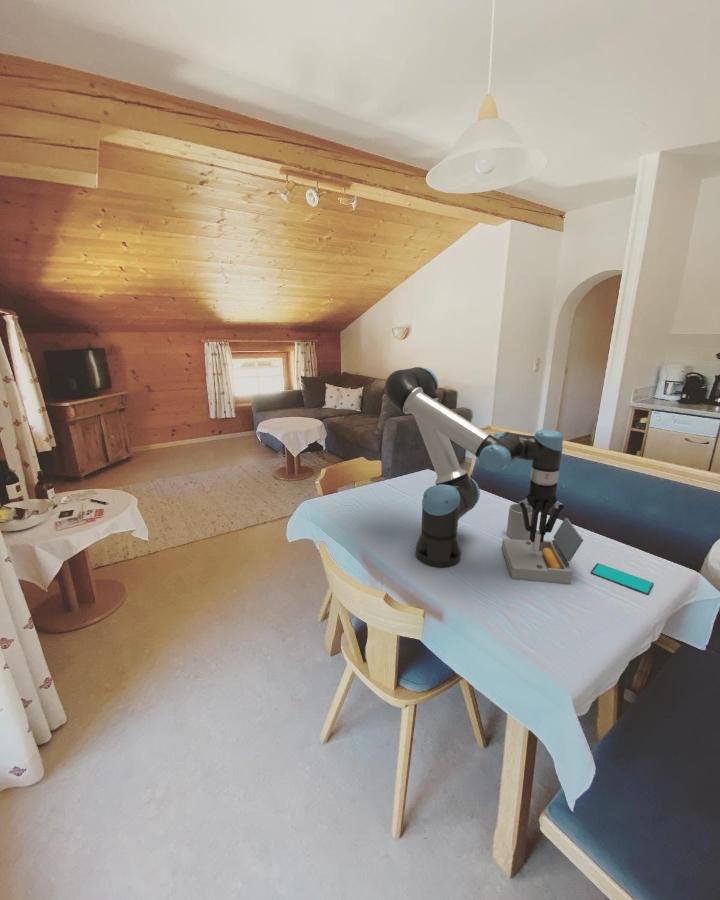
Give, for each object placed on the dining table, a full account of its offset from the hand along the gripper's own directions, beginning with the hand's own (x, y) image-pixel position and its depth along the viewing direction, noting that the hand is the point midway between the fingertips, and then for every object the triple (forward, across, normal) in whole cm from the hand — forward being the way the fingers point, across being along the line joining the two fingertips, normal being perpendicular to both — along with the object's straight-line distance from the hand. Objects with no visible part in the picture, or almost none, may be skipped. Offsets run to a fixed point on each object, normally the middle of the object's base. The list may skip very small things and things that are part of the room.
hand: (535, 550), depth 125 cm
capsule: (+3, +5, 0) cm, 6 cm away
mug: (+5, +1, +20) cm, 21 cm away
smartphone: (+6, +24, -4) cm, 25 cm away
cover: (-4, +8, 0) cm, 9 cm away
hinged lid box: (+5, 0, 0) cm, 5 cm away
